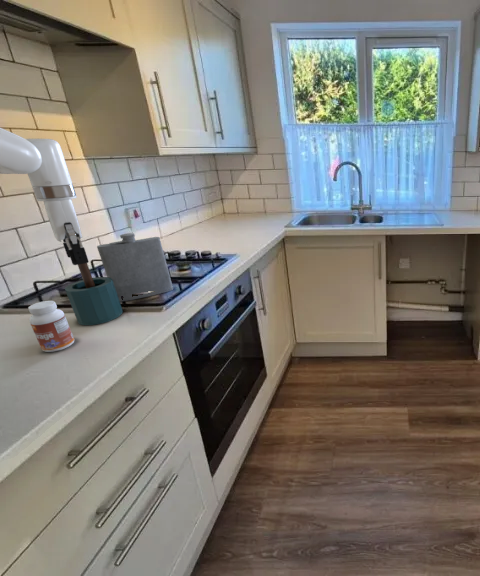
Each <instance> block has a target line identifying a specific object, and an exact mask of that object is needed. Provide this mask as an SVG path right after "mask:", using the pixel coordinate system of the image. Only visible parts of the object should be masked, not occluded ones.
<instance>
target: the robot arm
mask: <svg viewBox="0 0 480 576" xmlns="http://www.w3.org/2000/svg"><path fill="white" fill-rule="evenodd" d="M13 174H14V175H27V177H28V179H29V182H30V184H31V187H32V190H33V193H34V197H35V199H36V201H37V202H43V205H44V209H45V212H46V215H47V219H48V221H49V224H50V227H51V229H52V233H53V236H54V238H55V239H56V241H58V242H60V243H61V242H62V245H63V249H64V251H65V254H66V257H67V258H68V259H69V258H70V261H71V263H72V264H71V265H73V266H78V265H79V264H84V263H87V264H88V263H89V258H88V256H87V255H88V254H87V252H86V249H85V247H84V246H83V243H82V241H81V239H82V238H83V234H82V231H81V226H80V222H79V219H78V215H77V213H76V209H75V206H74V202H73V199H78V197H77V195H76V194H77V193H76V191H75V188H74V185H73V180H72V178H71V175H70V171H69V169H68V165H67V162H66V159H65V155H64V153H63V149H62V147H61V144H60V143H59V142H58V141H57V140H55V139H53V138H24V137H22V136H20V135H18V134H16V133H14V132H11V131H9V130H7V129H5V128H2V127H0V175H13Z"/></svg>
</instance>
